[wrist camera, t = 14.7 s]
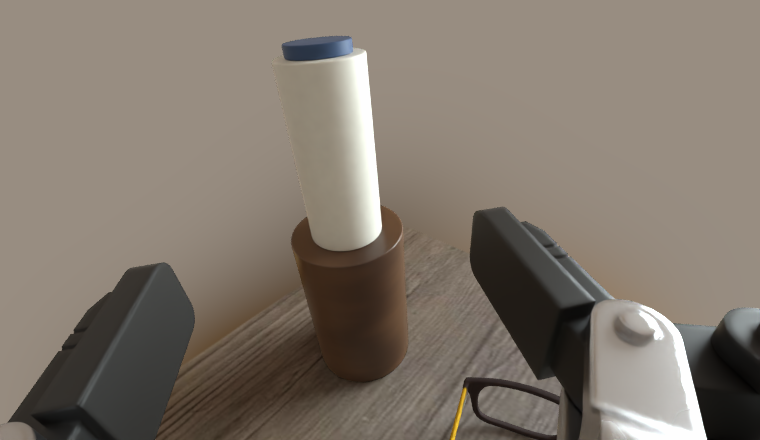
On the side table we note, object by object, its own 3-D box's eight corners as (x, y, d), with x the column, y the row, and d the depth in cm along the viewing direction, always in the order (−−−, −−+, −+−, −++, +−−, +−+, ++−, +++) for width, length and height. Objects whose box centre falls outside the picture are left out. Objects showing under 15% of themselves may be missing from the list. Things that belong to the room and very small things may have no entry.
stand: (327, 394, 24) (294, 279, 18) (316, 319, 30) (288, 213, 24) (421, 366, 25) (419, 250, 19) (393, 299, 31) (385, 193, 25)
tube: (316, 259, 19) (267, 51, 13) (308, 219, 23) (267, 41, 17) (390, 241, 20) (375, 38, 14) (372, 205, 24) (353, 32, 18)
